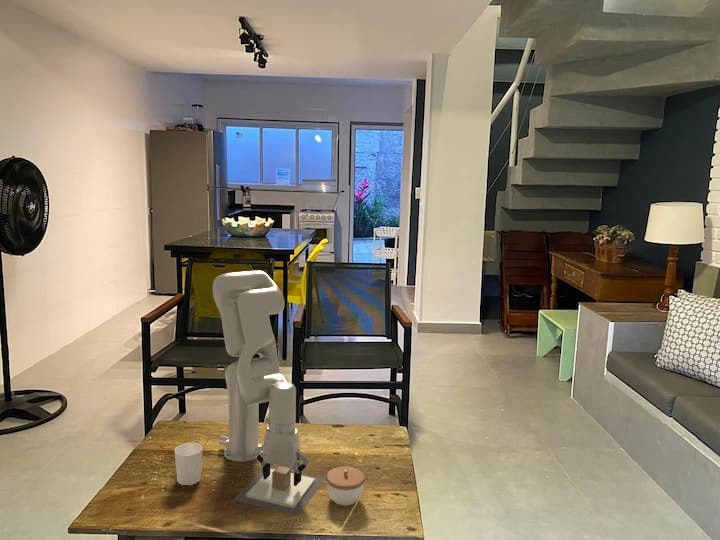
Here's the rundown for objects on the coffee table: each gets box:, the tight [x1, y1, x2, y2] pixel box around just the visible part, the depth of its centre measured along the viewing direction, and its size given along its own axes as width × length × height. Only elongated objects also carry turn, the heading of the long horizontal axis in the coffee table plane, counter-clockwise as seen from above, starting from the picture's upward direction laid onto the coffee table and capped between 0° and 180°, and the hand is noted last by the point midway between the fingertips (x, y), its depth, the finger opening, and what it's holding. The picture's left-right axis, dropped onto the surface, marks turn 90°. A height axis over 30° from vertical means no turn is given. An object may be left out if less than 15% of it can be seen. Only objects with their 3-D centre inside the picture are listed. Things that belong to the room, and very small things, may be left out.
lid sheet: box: [246, 466, 315, 508], centre depth 165 cm, size 15×15×6 cm
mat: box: [233, 465, 327, 517], centre depth 166 cm, size 20×20×1 cm
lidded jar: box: [326, 465, 365, 507], centre depth 161 cm, size 11×11×9 cm
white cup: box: [174, 442, 203, 486], centre depth 168 cm, size 8×8×10 cm
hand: (281, 480), depth 165 cm, fingers open, 9 cm apart
